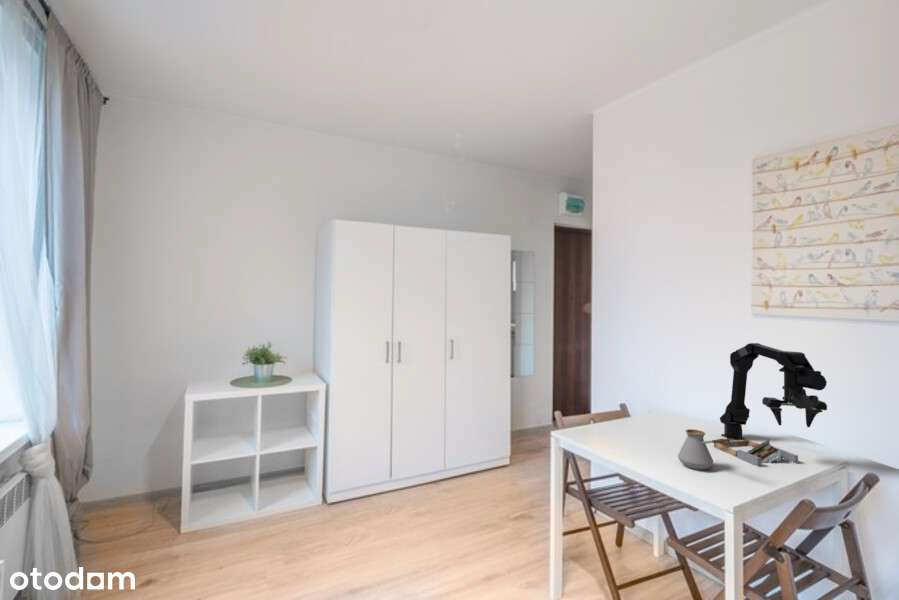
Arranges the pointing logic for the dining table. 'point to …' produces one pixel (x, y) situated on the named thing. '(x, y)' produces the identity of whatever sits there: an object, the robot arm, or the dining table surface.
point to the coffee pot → (697, 450)
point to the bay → (757, 460)
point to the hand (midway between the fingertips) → (793, 426)
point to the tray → (726, 445)
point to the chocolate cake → (766, 452)
